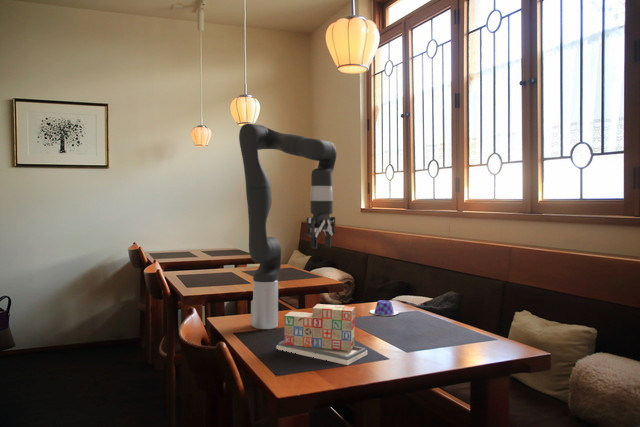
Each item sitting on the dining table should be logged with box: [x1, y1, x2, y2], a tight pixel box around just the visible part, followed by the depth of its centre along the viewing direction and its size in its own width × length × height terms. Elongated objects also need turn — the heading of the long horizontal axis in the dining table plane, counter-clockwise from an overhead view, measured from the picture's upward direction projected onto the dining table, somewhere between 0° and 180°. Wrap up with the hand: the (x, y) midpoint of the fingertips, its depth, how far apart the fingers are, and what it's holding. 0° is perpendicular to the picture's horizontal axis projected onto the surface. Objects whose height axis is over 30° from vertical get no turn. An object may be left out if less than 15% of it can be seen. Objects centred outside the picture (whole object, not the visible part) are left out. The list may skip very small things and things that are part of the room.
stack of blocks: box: [283, 303, 356, 351], centre depth 153 cm, size 21×6×12 cm, turn 76°
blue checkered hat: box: [369, 299, 399, 317], centre depth 207 cm, size 12×12×5 cm
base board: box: [276, 340, 369, 366], centre depth 153 cm, size 26×12×2 cm, turn 56°
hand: (321, 247), depth 166 cm, fingers open, 8 cm apart
